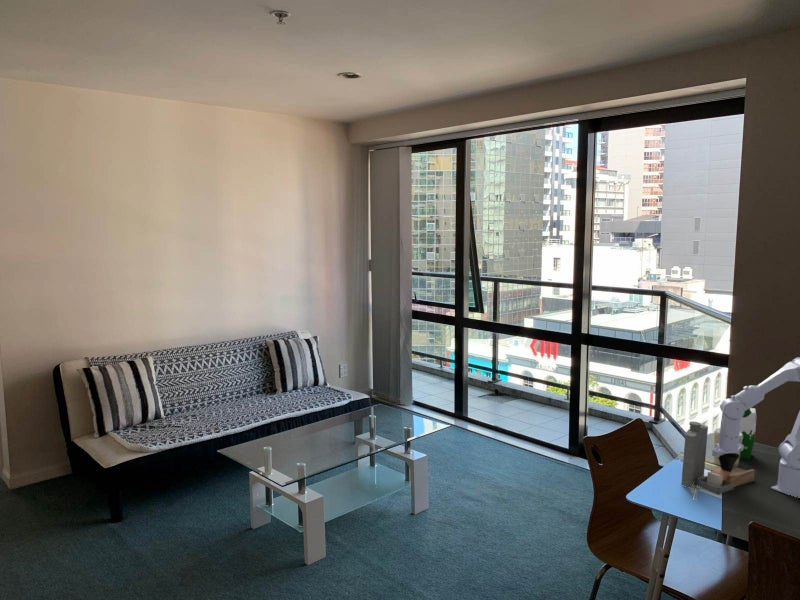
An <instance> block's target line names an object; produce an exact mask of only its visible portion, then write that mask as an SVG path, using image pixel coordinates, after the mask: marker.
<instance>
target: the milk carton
mask: <svg viewBox="0 0 800 600" xmlns="http://www.w3.org/2000/svg"><path fill="white" fill-rule="evenodd" d="M756 427H757V412H756V408H753V407H751V408H749V409H748V410H746V411H745V412H744V415H743V416H742V417H741V419H740V432H741V433H742V435H743V439H742V445H744V446H743V451H740V457H739V459H745V460H750V459H751V457H752V453H753V449H754V445H755V438H756Z"/></svg>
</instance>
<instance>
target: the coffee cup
mask: <svg viewBox="0 0 800 600" xmlns="http://www.w3.org/2000/svg"><path fill="white" fill-rule="evenodd" d="M713 434H714V436H713V450H714V449H716V444H718V443H719V437H720V427H718V428H715V430H714V432H713ZM742 439H743V435H742V433H741V432H740V434H739V444H742ZM736 454H739V458H738V459H737V460H736V462H735V463H736V464H737V467H738V466H739V462H740V450H739V452H737V453H736ZM713 462H714V464H716V465H718V466H720V467H721V465H720V461H719V459H718V457H715V456H713Z"/></svg>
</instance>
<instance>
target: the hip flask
mask: <svg viewBox="0 0 800 600" xmlns="http://www.w3.org/2000/svg"><path fill="white" fill-rule="evenodd" d="M688 425H689V429H687V431H686V432H685V435H684V447H683V448H684V449H683V459H682V460H683V461H682V471H681V483H680V484H682V485H684V486H686V487H685V488H688V487H690V488H692V487H693V485H692V484H694V483H695V482H696V481H695V480H696V479H698V478H700V477H701V478H702V476H703V477H705V466H706V456H707V443H708V442H707V441H708V434H709V433H708V432H709V431H708V429H709V426H707V425H705V424H702V423H701V422H698V421H689V423H688ZM694 481H695V482H694ZM693 482H694V483H693ZM682 485H681V486H682ZM684 486H683V487H684ZM691 486H692V487H691Z"/></svg>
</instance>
